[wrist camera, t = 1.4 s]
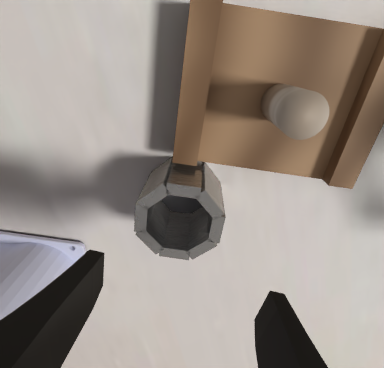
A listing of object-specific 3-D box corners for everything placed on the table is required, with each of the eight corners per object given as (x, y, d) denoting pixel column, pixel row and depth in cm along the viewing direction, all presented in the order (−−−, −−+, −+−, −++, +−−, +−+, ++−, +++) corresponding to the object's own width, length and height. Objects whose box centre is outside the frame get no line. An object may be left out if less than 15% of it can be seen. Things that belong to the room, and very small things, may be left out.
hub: (147, 215, 21) (133, 252, 17) (151, 153, 18) (136, 178, 14) (212, 224, 21) (214, 263, 17) (225, 164, 18) (231, 192, 14)
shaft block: (175, 151, 18) (165, 184, 13) (192, 2, 14) (187, -30, 9) (336, 175, 18) (384, 216, 13) (396, 35, 14) (496, 21, 10)
